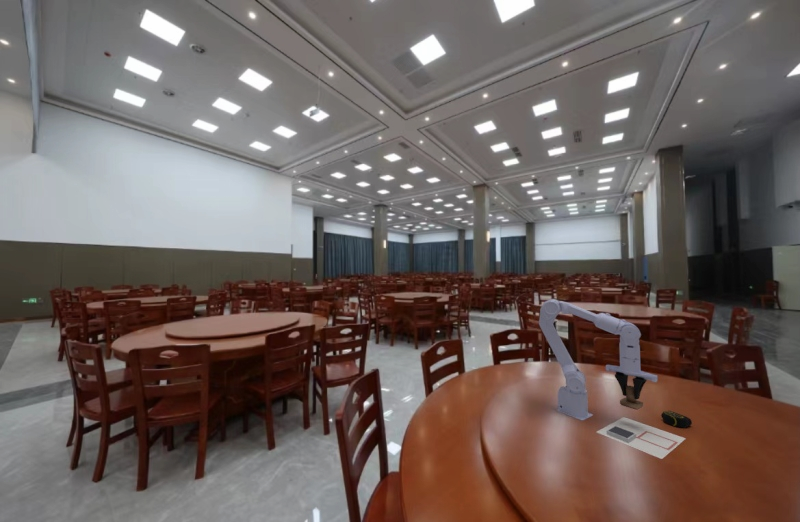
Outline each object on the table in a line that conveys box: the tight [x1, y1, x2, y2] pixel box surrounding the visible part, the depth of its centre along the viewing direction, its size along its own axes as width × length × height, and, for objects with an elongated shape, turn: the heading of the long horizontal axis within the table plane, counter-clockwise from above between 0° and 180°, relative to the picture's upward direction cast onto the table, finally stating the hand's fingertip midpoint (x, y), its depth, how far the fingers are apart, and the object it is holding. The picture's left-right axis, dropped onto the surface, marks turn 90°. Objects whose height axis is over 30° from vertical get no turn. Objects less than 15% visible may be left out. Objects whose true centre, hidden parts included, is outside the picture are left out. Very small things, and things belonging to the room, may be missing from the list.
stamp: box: [619, 384, 644, 410], centre depth 102 cm, size 5×5×6 cm
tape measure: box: [660, 410, 693, 429], centre depth 104 cm, size 7×7×4 cm
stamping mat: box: [596, 416, 687, 460], centre depth 96 cm, size 17×21×2 cm
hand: (631, 396), depth 102 cm, fingers closed on stamp, 3 cm apart
